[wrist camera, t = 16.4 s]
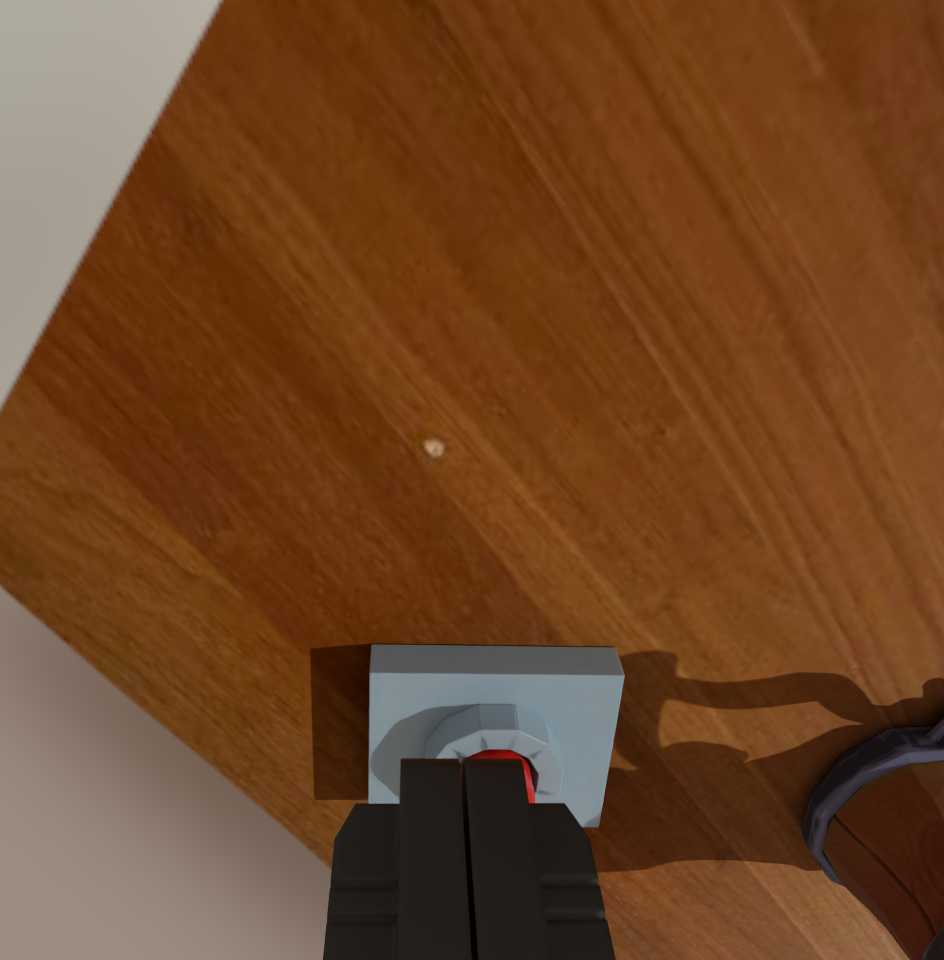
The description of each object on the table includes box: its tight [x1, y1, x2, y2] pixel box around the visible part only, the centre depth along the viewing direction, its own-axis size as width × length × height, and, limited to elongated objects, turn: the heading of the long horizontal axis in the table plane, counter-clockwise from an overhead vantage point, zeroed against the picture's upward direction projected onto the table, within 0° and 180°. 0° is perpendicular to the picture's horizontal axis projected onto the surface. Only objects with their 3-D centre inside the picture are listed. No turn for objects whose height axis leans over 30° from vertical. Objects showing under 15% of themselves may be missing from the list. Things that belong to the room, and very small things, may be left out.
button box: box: [368, 644, 625, 827], centre depth 44 cm, size 12×10×4 cm
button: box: [460, 749, 535, 803], centre depth 42 cm, size 4×4×2 cm
